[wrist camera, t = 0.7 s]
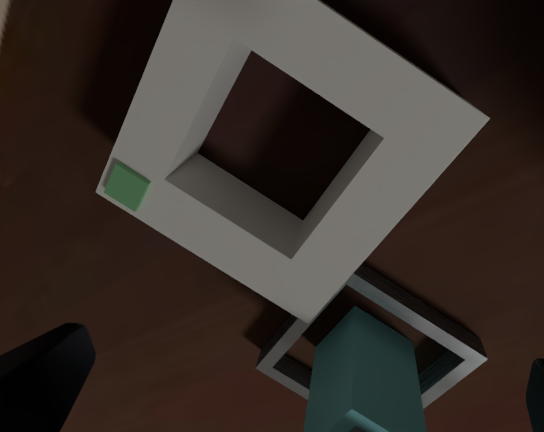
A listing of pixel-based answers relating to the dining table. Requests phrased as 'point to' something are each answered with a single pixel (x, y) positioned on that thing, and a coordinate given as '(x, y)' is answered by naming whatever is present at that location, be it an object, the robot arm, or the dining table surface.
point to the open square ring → (459, 341)
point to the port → (247, 201)
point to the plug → (364, 380)
